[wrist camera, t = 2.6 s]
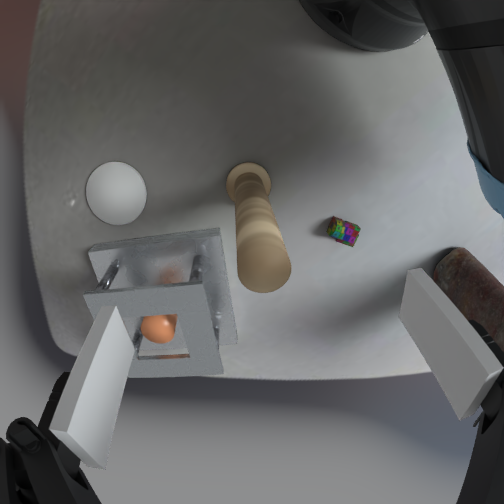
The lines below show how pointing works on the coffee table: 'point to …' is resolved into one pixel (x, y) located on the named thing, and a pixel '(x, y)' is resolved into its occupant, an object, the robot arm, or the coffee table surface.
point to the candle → (473, 291)
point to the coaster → (116, 193)
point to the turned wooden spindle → (257, 230)
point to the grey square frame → (168, 298)
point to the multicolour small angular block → (343, 231)
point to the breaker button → (159, 328)
